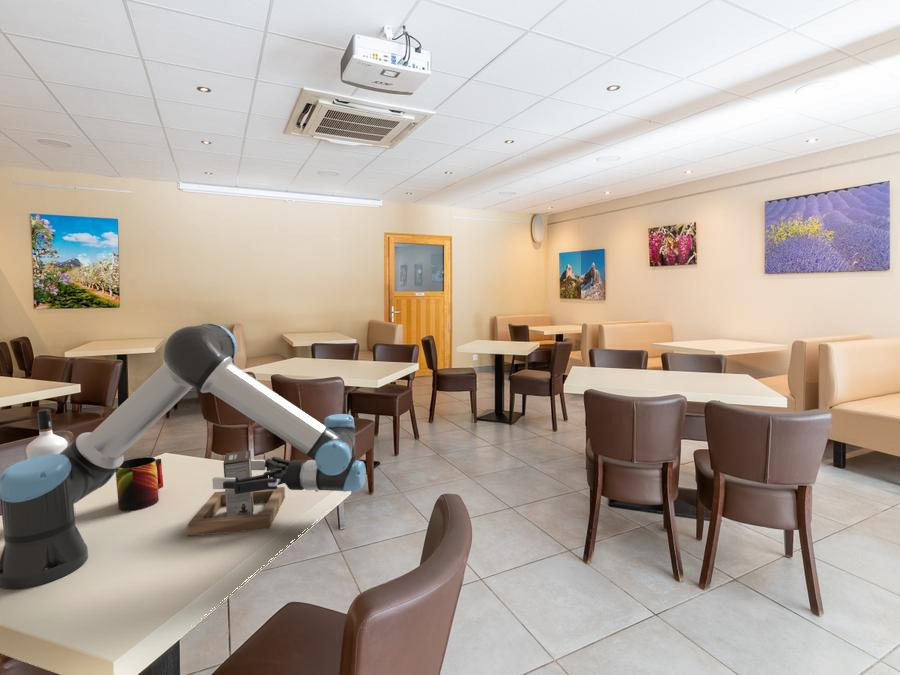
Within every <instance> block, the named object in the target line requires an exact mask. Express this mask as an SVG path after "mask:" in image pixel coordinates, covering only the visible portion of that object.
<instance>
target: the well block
mask: <svg viewBox="0 0 900 675" xmlns="http://www.w3.org/2000/svg"><path fill="white" fill-rule="evenodd" d="M285 498H286V488H285V486H277V489H267V490H260V491H253V504H254V503H266V504H265V505H264V508H263V510H262V511H261V513H253V514H250V515H238V516H227V515H226V516H217V517H215V516H216V514H217V513H218V511H219V510H220V509H221V507H223V506H226V496H225V491H224V490H222V491H214V492H213V494H212V495H211V496H210V497H209V498H208V499H207V501H206V502H205V503H204V504H203V505H202V507H201V508H200V509H199V510H198V511H197V512H196V513H195V514H194V516H193V517H192V518H191V519H190V521H189V522H188V523H187V532H188V533H187V534H188V535H192V536H201V535H202V534H204V535H214V534H213V533H215V534H224V533H225V532H227V533H235V532H238V533H239V532H248V531H258V530H259V531H261V530H270V529H271V527H272V525H273V523H274V521H275V519H276V517H277V515H278V513H279V511H280V509H281V507H280V506H282V505H283V502H284V500H285ZM267 501H268V502H267ZM279 508H280V509H279ZM216 512H217V513H216ZM213 516H214V517H213Z"/></svg>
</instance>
